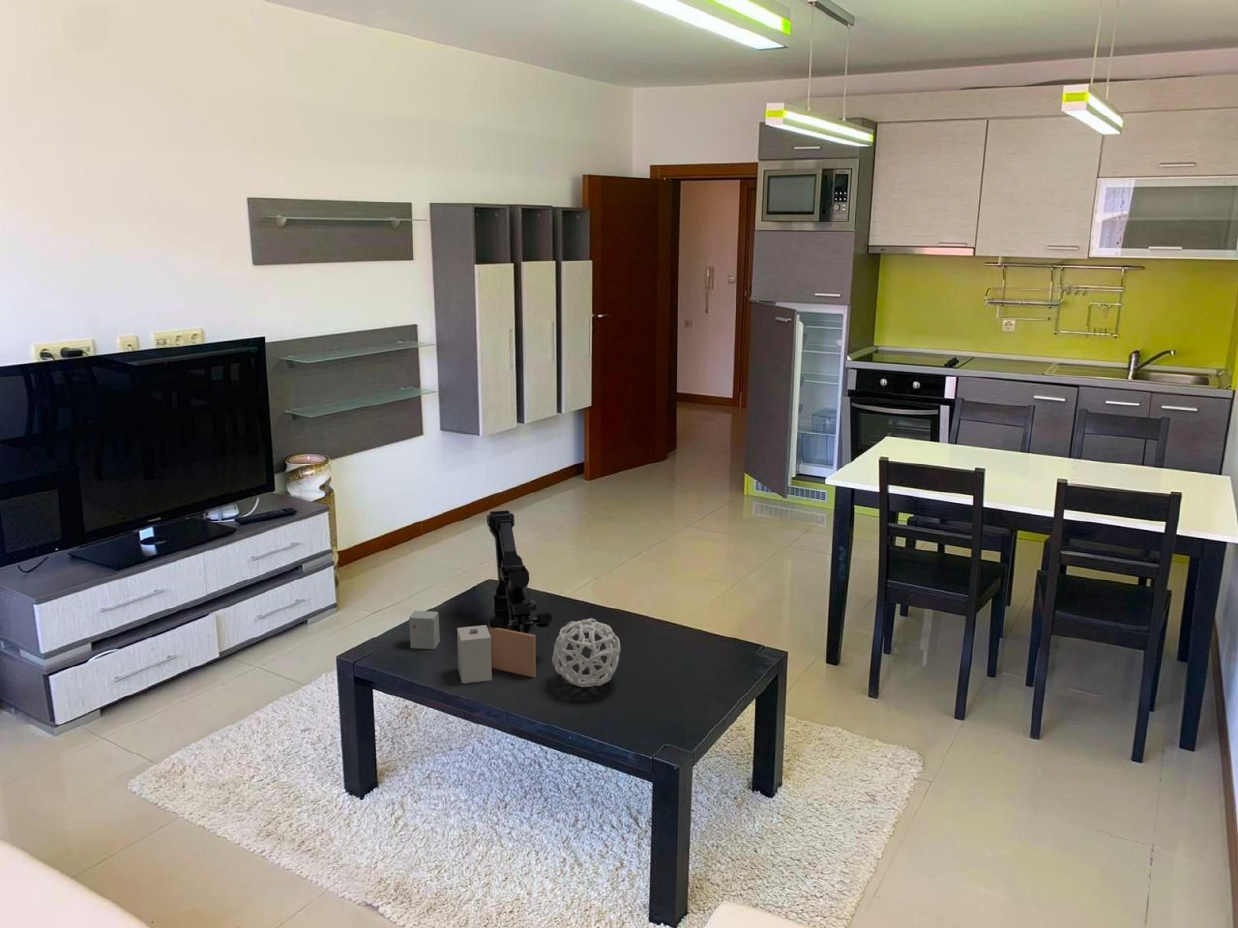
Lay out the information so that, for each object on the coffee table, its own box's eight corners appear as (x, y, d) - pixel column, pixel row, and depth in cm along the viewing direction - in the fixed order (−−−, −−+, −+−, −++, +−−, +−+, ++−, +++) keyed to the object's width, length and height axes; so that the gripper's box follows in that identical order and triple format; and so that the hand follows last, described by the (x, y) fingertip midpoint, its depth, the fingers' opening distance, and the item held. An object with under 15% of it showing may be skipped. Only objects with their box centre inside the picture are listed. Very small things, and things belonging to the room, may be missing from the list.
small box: (440, 642, 293) (439, 611, 291) (435, 649, 288) (434, 618, 285) (415, 640, 294) (414, 610, 291) (410, 648, 288) (408, 617, 286)
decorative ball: (541, 694, 261) (541, 632, 256) (564, 664, 280) (564, 605, 275) (609, 705, 256) (610, 641, 251) (627, 673, 274) (629, 614, 270)
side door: (491, 666, 277) (490, 626, 274) (535, 675, 272) (535, 635, 268) (489, 667, 276) (489, 627, 273) (534, 677, 271) (533, 636, 268)
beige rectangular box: (457, 667, 276) (456, 623, 272) (486, 664, 278) (485, 620, 275) (462, 683, 267) (461, 638, 263) (491, 680, 269) (491, 634, 265)
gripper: (489, 593, 272) (495, 643, 264) (550, 587, 277) (558, 636, 270) (485, 607, 281) (491, 656, 274) (545, 601, 286) (552, 649, 279)
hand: (523, 649), depth 274 cm, fingers closed
